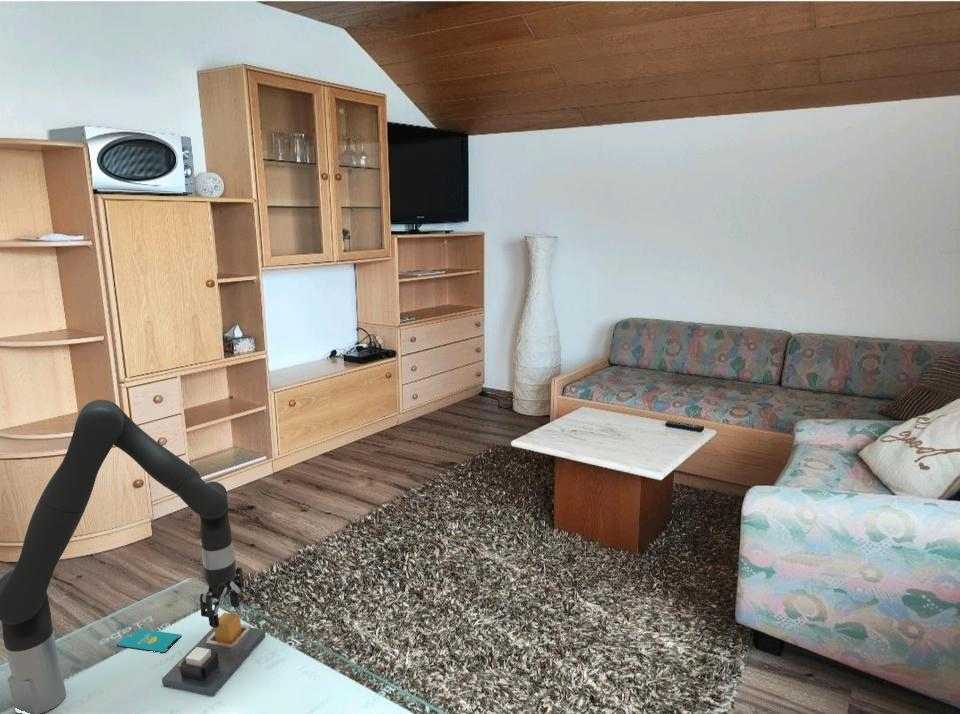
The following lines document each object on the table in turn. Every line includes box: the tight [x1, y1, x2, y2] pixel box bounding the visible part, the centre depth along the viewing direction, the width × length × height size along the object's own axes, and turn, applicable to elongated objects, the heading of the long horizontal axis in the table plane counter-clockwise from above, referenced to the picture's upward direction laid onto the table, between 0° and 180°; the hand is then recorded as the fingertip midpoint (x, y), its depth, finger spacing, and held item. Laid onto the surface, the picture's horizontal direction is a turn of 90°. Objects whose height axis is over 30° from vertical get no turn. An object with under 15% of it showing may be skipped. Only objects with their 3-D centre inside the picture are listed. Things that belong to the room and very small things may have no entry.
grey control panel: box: [161, 623, 266, 697], centre depth 167 cm, size 22×14×5 cm, turn 165°
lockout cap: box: [214, 611, 242, 644], centre depth 172 cm, size 4×4×6 cm
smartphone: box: [116, 628, 183, 654], centre depth 175 cm, size 7×1×15 cm
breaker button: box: [186, 647, 211, 667], centre depth 161 cm, size 4×4×4 cm
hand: (225, 616), depth 171 cm, fingers open, 8 cm apart
